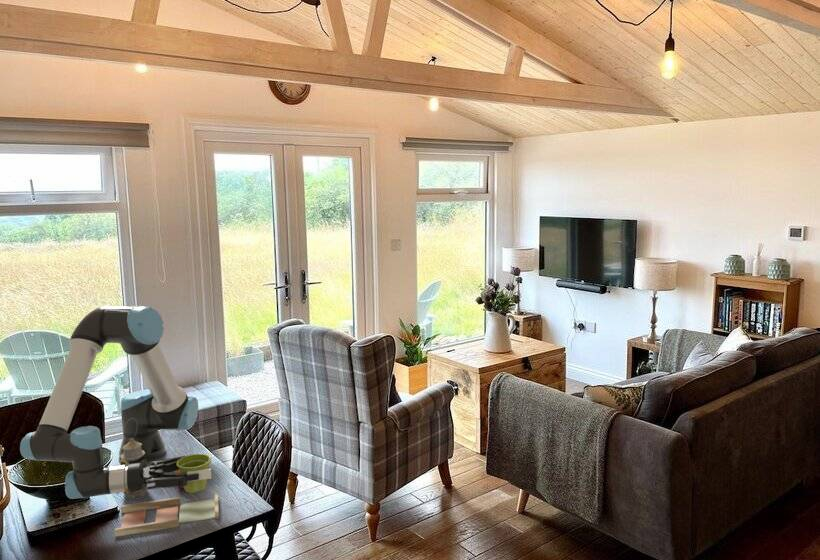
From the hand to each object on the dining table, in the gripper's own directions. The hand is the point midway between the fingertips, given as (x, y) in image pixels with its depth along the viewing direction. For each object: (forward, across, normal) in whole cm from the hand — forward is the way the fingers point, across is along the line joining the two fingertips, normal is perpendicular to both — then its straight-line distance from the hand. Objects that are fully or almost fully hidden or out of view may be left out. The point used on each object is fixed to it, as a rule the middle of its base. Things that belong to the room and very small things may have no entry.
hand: (211, 466), depth 184 cm
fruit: (-8, -18, -14) cm, 24 cm away
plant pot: (-5, 0, -6) cm, 8 cm away
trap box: (-12, 0, -14) cm, 18 cm away
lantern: (-23, -17, -14) cm, 32 cm away
